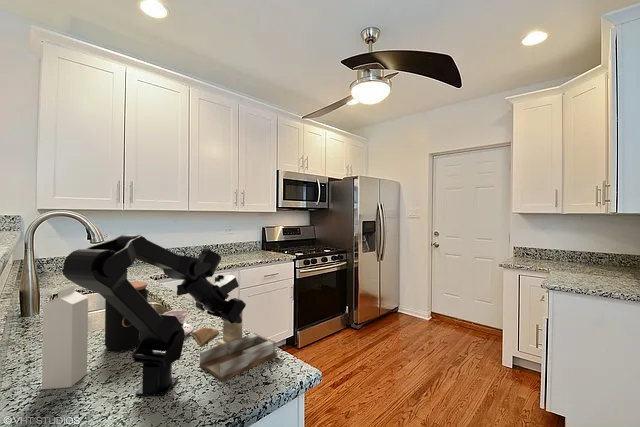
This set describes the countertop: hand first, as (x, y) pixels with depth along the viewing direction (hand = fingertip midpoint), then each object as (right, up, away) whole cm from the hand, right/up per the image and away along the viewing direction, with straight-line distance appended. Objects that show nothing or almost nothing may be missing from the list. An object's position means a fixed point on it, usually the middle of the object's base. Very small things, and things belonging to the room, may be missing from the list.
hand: (236, 320), depth 91 cm
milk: (-35, -7, -21) cm, 41 cm away
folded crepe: (-11, -8, +6) cm, 15 cm away
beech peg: (-1, -7, -1) cm, 7 cm away
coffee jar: (-33, -7, -1) cm, 34 cm away
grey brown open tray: (+4, -7, -10) cm, 13 cm away
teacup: (-24, -8, +10) cm, 27 cm away
